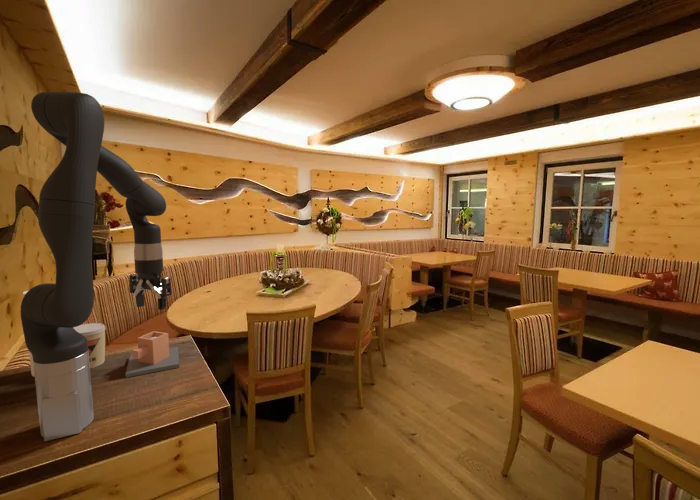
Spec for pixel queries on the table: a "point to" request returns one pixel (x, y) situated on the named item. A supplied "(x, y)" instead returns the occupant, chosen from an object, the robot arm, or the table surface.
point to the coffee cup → (94, 342)
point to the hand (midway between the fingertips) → (151, 307)
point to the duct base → (145, 368)
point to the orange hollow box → (152, 348)
